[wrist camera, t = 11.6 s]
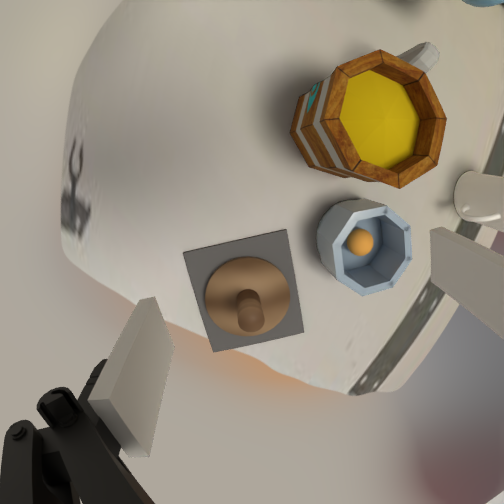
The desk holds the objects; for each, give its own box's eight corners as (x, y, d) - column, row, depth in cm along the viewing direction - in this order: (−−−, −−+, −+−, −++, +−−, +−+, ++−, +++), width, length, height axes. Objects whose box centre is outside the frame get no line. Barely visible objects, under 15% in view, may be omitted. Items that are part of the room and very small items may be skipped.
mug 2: (441, 230, 45) (490, 251, 33) (435, 178, 42) (487, 187, 31) (487, 214, 45) (535, 230, 33) (483, 167, 42) (533, 174, 31)
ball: (341, 229, 42) (351, 235, 38) (365, 223, 42) (376, 229, 38) (344, 254, 43) (354, 262, 39) (367, 248, 43) (379, 256, 39)
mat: (183, 252, 42) (183, 253, 42) (286, 229, 43) (286, 229, 42) (213, 350, 47) (213, 352, 47) (303, 331, 47) (304, 332, 47)
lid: (196, 266, 43) (190, 287, 36) (281, 248, 43) (291, 265, 36) (217, 338, 46) (216, 367, 39) (294, 322, 46) (304, 348, 39)
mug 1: (346, 198, 42) (400, 218, 28) (268, 135, 39) (291, 121, 25) (417, 99, 39) (484, 85, 24) (350, 36, 36) (400, -6, 21)
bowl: (309, 207, 42) (328, 217, 34) (379, 193, 42) (408, 201, 35) (321, 279, 45) (339, 302, 38) (386, 262, 45) (412, 281, 38)
